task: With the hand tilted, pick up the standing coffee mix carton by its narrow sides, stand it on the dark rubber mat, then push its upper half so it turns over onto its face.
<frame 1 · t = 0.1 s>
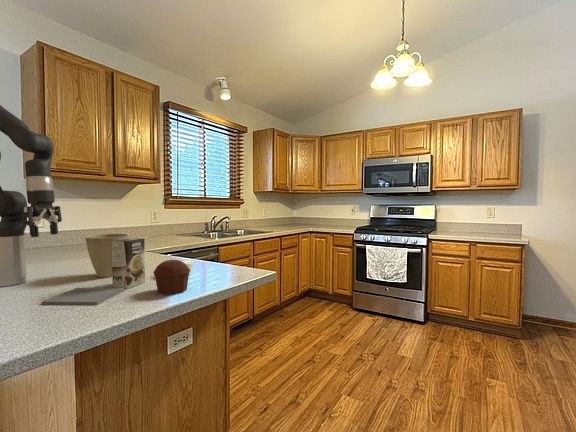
hand: (45, 235, 109), 17 cm above the countertop, tool pointing down, fingers open, 8 cm apart
plant pot: (108, 275, 122), on the countertop
ramekin: (179, 275, 123), on the countertop
coffee box: (129, 285, 108), on the countertop
mat: (85, 297, 94), on the countertop
muffin: (172, 291, 101), on the countertop
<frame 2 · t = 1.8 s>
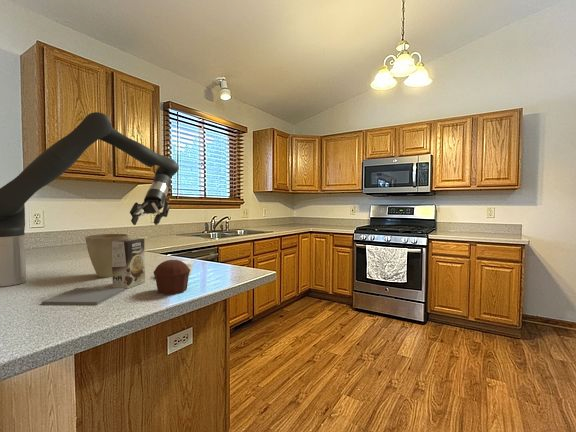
hand: (144, 223, 118), 21 cm above the countertop, tool tilted 45°, fingers open, 8 cm apart
nothing on the countertop moved.
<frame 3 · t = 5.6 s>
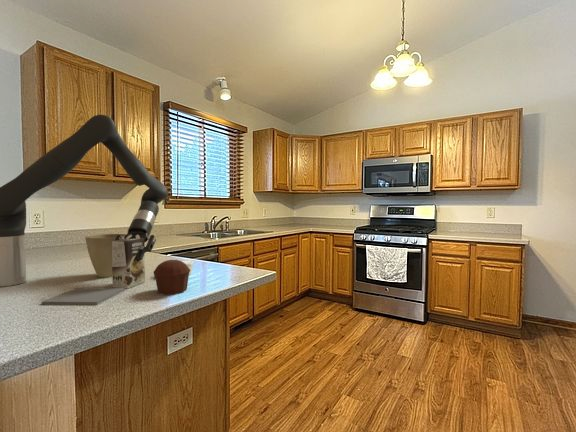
hand: (126, 260, 106), 9 cm above the countertop, tool tilted 45°, fingers closed on coffee box, 7 cm apart
coffee box: (129, 285, 108), on the countertop, touching gripper
everything else where it was.
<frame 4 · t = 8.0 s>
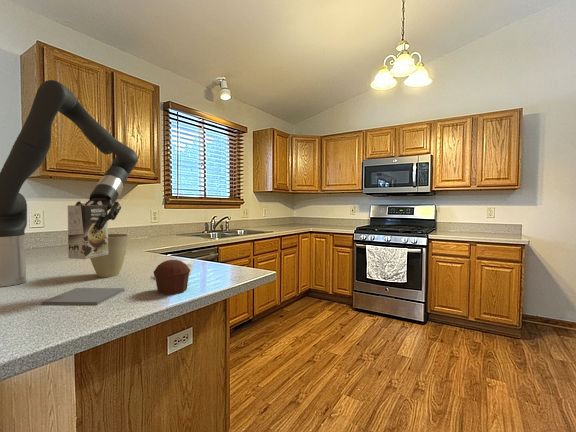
hand: (85, 228, 94), 21 cm above the countertop, tool tilted 45°, fingers closed on coffee box, 7 cm apart
coffee box: (89, 257, 96), point 12 cm above the countertop, touching gripper
everything else where it was.
when the fingers open (11 cm above the countertop, at t = 10.6 s): coffee box moves 1 cm, resting on mat.
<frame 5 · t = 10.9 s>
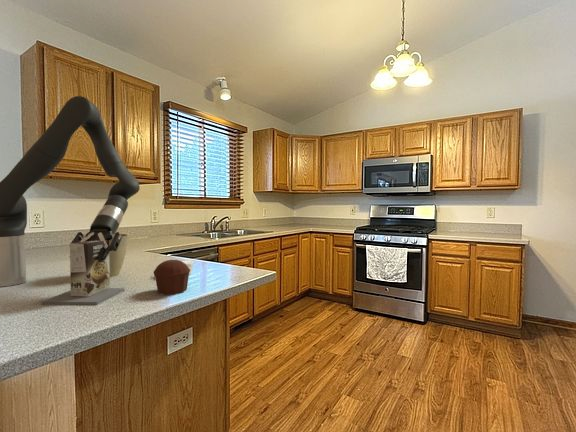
hand: (86, 260, 94), 11 cm above the countertop, tool tilted 45°, fingers open, 8 cm apart
coffee box: (91, 292, 96), point 1 cm above the countertop, touching mat
everything else where it was.
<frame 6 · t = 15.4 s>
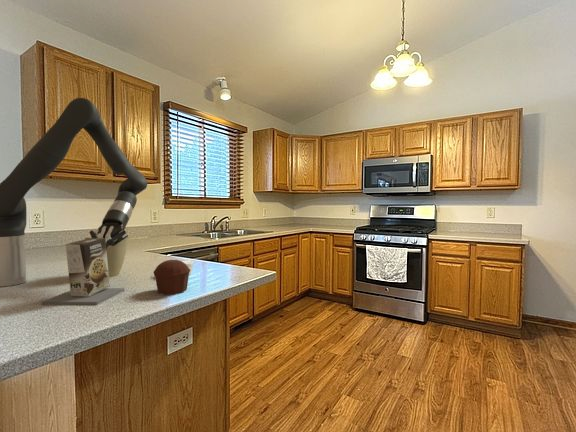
hand: (98, 254, 100), 12 cm above the countertop, tool tilted 45°, fingers closed
coffee box: (91, 291, 96), point 1 cm above the countertop, touching gripper, mat
everything else where it was.
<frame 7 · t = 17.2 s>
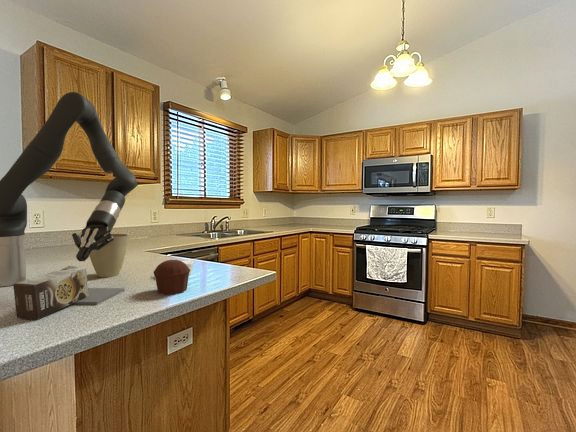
hand: (80, 259, 91), 12 cm above the countertop, tool tilted 45°, fingers closed
coffee box: (79, 280, 91), point 6 cm above the countertop, touching mat
everything else where it was.
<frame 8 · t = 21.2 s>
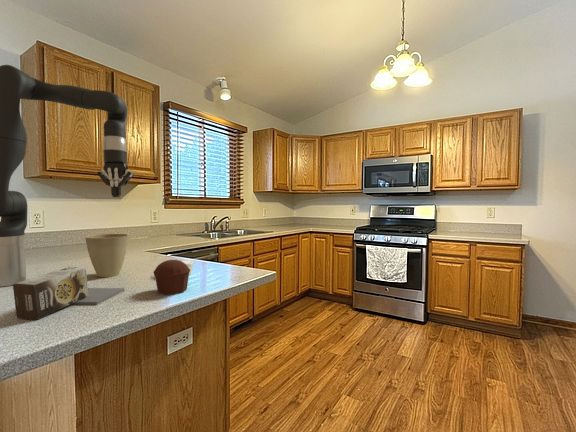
hand: (116, 197, 114), 31 cm above the countertop, tool pointing down, fingers closed
nothing on the countertop moved.
at the end: coffee box tilted 95°; coffee box inside the target area (6.0 cm from its centre), point 5.7 cm above the countertop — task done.
